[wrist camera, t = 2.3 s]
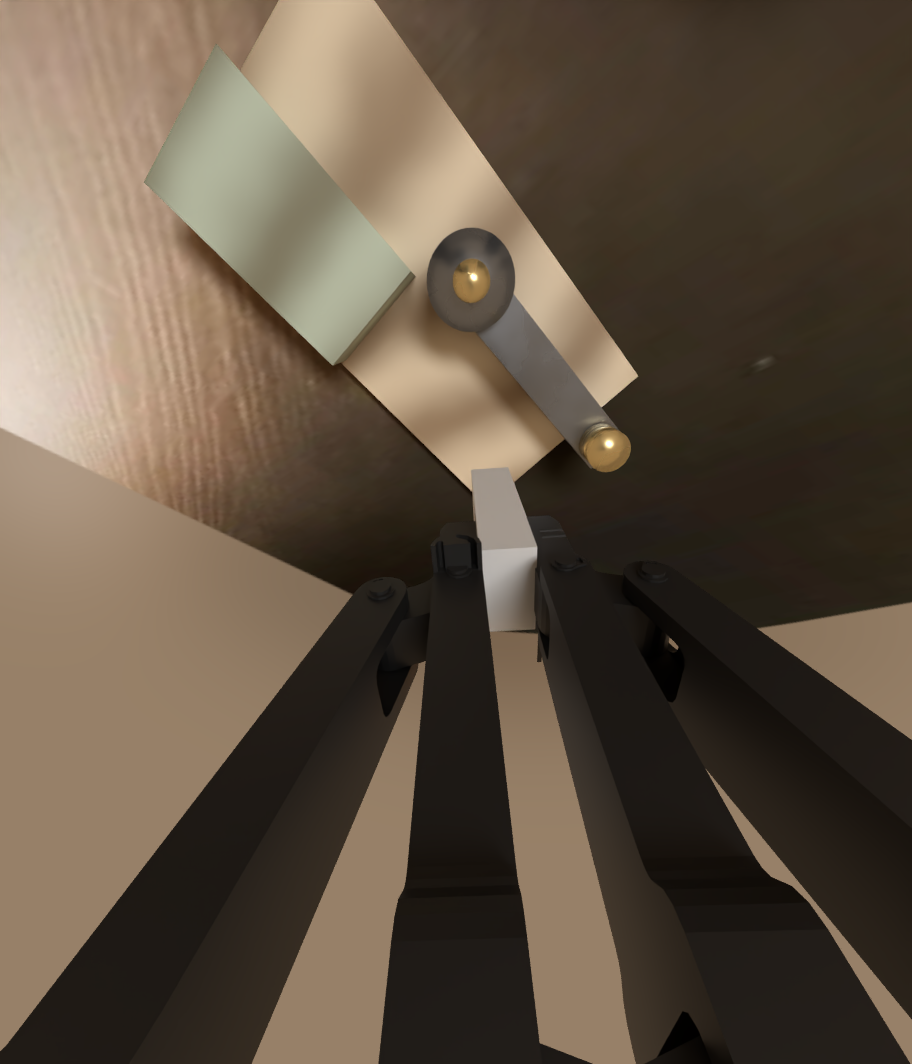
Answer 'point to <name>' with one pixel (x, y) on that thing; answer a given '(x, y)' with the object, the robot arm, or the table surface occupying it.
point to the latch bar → (518, 341)
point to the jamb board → (416, 216)
